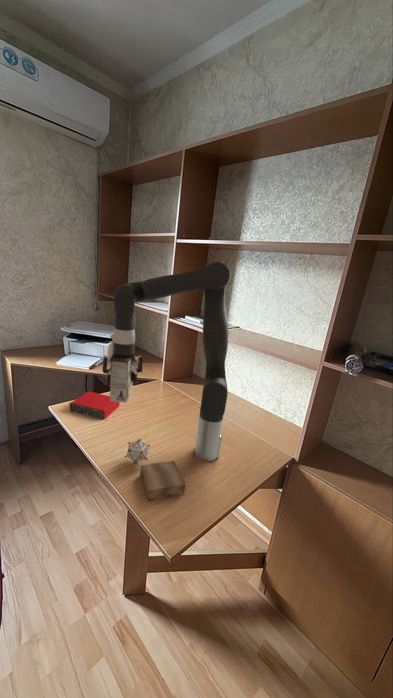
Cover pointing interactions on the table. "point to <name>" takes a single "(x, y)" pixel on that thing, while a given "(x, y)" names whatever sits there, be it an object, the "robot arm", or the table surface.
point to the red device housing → (94, 405)
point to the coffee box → (121, 379)
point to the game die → (137, 451)
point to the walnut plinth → (162, 480)
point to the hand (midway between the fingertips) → (122, 382)
